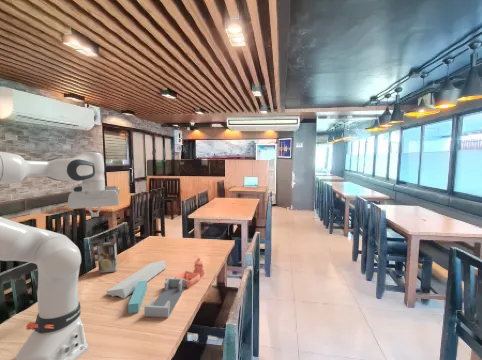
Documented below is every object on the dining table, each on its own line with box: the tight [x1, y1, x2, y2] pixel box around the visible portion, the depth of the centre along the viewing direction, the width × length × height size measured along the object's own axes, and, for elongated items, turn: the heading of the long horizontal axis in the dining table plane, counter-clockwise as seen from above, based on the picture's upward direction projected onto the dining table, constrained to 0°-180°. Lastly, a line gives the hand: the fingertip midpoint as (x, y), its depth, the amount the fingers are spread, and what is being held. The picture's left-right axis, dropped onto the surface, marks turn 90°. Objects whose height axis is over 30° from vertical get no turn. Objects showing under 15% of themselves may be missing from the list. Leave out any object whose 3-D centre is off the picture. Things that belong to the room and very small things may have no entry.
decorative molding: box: [106, 260, 167, 299], centre depth 134 cm, size 34×5×10 cm
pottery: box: [174, 257, 206, 289], centre depth 136 cm, size 18×10×10 cm, turn 153°
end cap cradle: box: [143, 277, 186, 319], centre depth 115 cm, size 25×10×5 cm, turn 177°
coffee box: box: [96, 241, 119, 274], centre depth 146 cm, size 9×6×16 cm
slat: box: [127, 281, 148, 314], centre depth 115 cm, size 20×4×5 cm, turn 11°
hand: (95, 216), depth 115 cm, fingers closed
